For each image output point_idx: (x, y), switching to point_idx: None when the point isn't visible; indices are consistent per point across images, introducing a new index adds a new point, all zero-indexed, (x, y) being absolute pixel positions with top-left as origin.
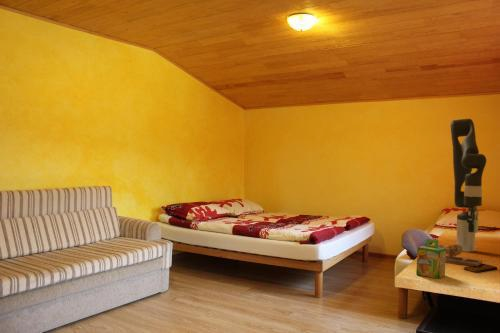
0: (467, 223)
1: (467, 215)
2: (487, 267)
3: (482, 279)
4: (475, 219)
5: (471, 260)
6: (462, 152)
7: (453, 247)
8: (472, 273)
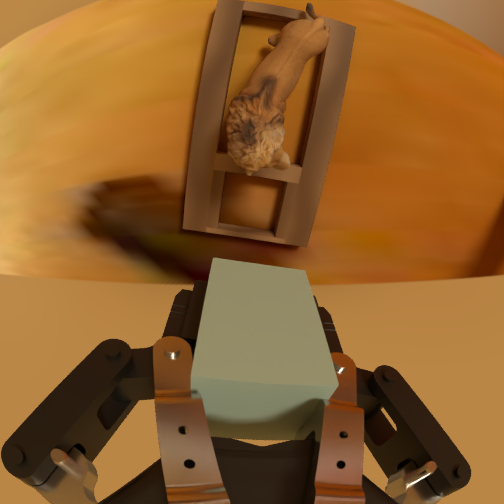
0: (198, 332)
1: (36, 418)
2: None
3: (21, 249)
4: (299, 429)
5: (283, 202)
6: None
7: (233, 118)
8: (60, 218)
